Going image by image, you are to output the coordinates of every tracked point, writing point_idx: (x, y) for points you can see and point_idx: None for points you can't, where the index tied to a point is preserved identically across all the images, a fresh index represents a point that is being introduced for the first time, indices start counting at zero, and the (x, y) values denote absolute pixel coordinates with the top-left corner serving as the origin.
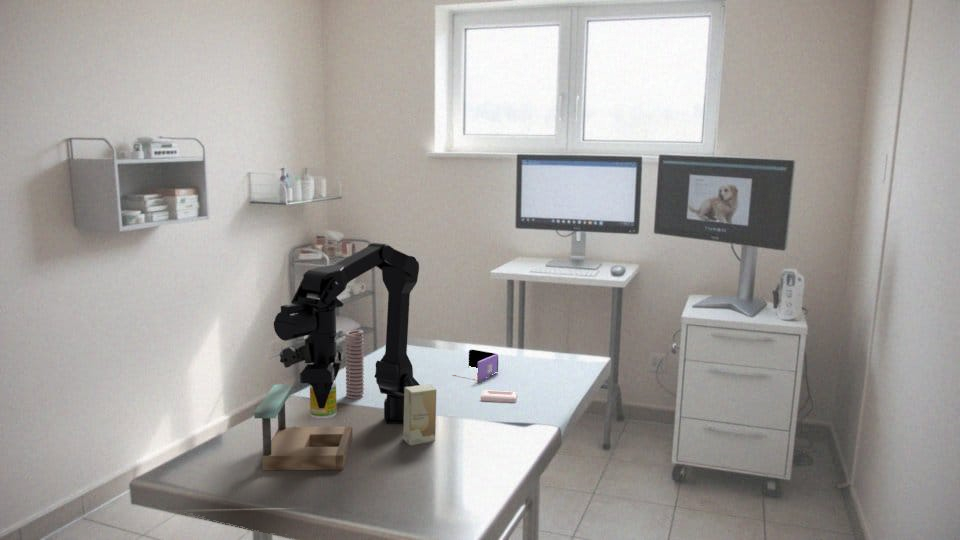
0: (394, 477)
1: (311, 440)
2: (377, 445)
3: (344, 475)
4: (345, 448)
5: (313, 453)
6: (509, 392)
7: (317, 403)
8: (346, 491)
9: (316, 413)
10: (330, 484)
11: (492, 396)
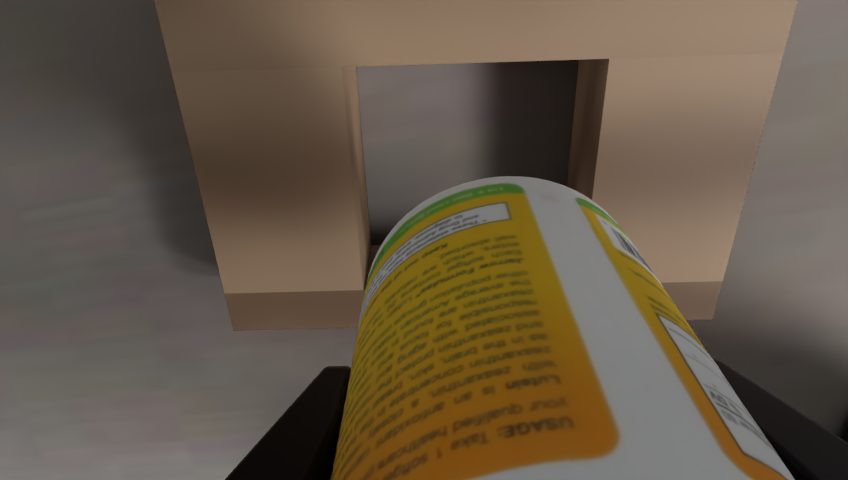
0: (214, 469)
1: (595, 59)
2: None
3: (190, 295)
4: (347, 325)
5: (230, 159)
6: None
7: (295, 403)
8: (23, 325)
9: (369, 284)
10: (70, 249)
11: None
